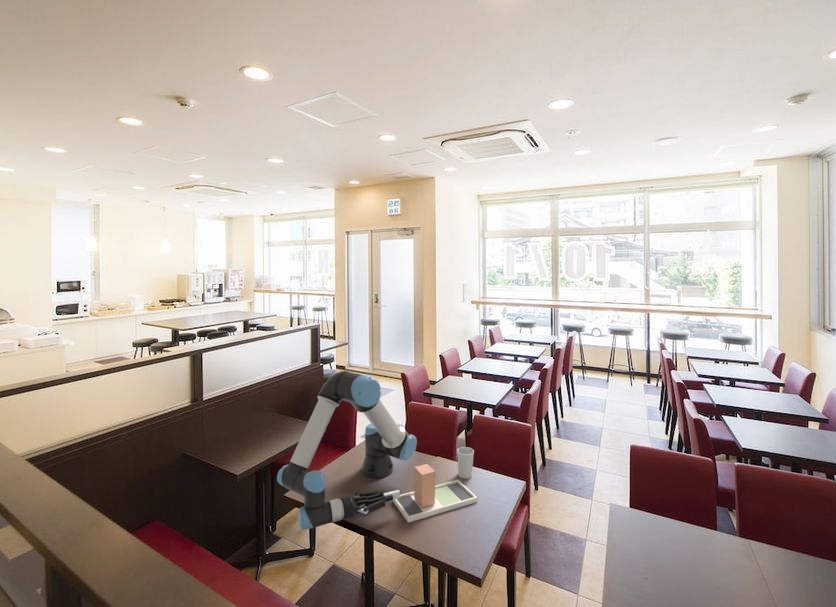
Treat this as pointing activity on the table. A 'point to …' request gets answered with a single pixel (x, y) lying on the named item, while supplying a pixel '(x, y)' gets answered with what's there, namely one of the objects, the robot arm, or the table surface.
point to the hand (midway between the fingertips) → (399, 493)
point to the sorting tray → (436, 501)
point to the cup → (465, 462)
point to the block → (424, 485)
